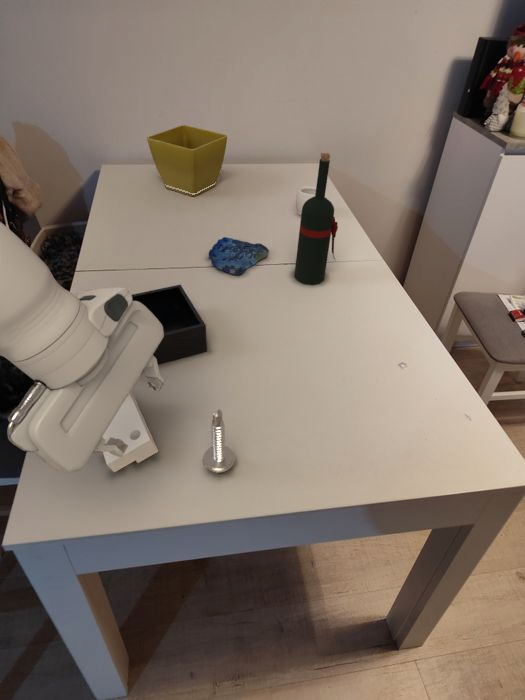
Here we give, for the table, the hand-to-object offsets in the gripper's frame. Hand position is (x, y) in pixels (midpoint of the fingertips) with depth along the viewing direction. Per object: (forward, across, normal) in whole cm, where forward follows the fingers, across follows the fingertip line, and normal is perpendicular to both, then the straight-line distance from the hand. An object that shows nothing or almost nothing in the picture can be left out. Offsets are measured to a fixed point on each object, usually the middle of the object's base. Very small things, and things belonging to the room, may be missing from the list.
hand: (141, 417), depth 55 cm
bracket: (+12, +2, +17) cm, 21 cm away
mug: (+36, +98, +23) cm, 107 cm away
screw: (+19, +3, +1) cm, 20 cm away
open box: (+15, +26, +26) cm, 39 cm away
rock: (+24, +62, +28) cm, 72 cm away
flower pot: (+21, +99, +62) cm, 119 cm away
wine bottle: (+33, +62, +8) cm, 70 cm away
